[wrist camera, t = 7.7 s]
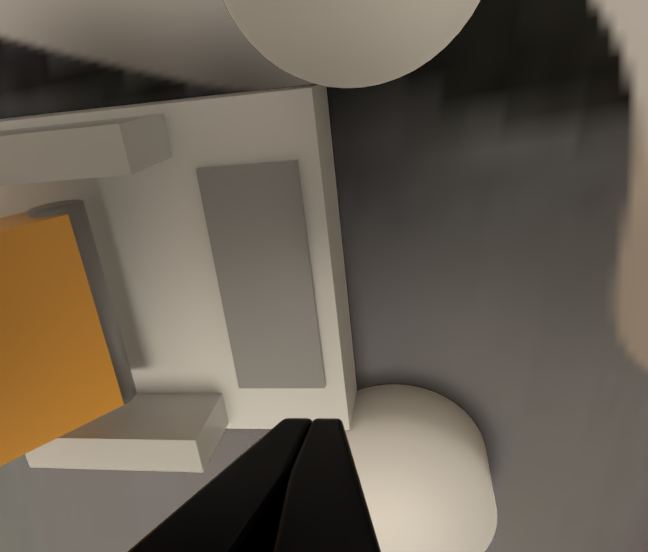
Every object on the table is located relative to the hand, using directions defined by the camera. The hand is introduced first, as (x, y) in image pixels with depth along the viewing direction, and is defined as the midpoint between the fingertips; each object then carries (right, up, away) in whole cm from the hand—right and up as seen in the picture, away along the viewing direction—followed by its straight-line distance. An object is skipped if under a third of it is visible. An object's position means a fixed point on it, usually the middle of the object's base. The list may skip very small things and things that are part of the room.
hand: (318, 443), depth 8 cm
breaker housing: (-5, +3, +8) cm, 10 cm away
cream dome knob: (+2, -3, +10) cm, 11 cm away
